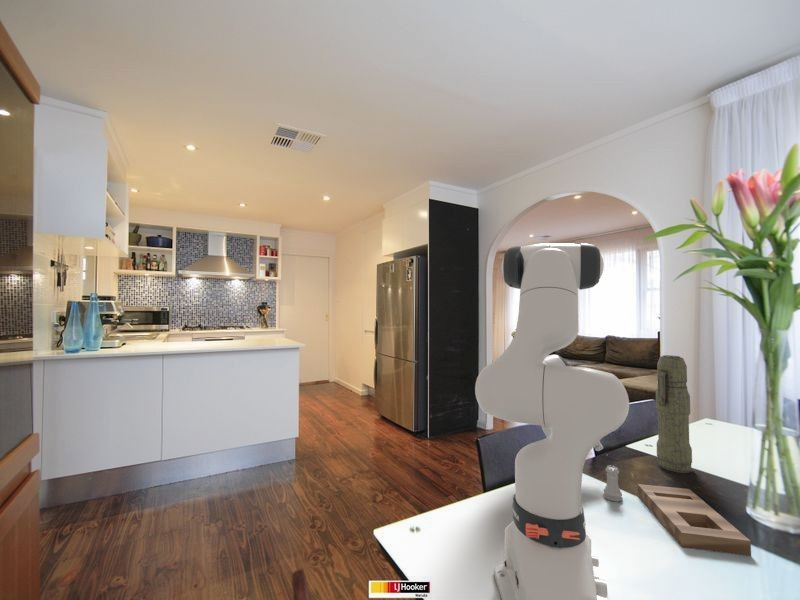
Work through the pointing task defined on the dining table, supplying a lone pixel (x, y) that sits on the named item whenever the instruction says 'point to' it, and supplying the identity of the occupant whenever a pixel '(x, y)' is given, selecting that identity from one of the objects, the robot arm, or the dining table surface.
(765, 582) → the dining table surface
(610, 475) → the rook chess piece
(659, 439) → the thermos
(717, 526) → the block
